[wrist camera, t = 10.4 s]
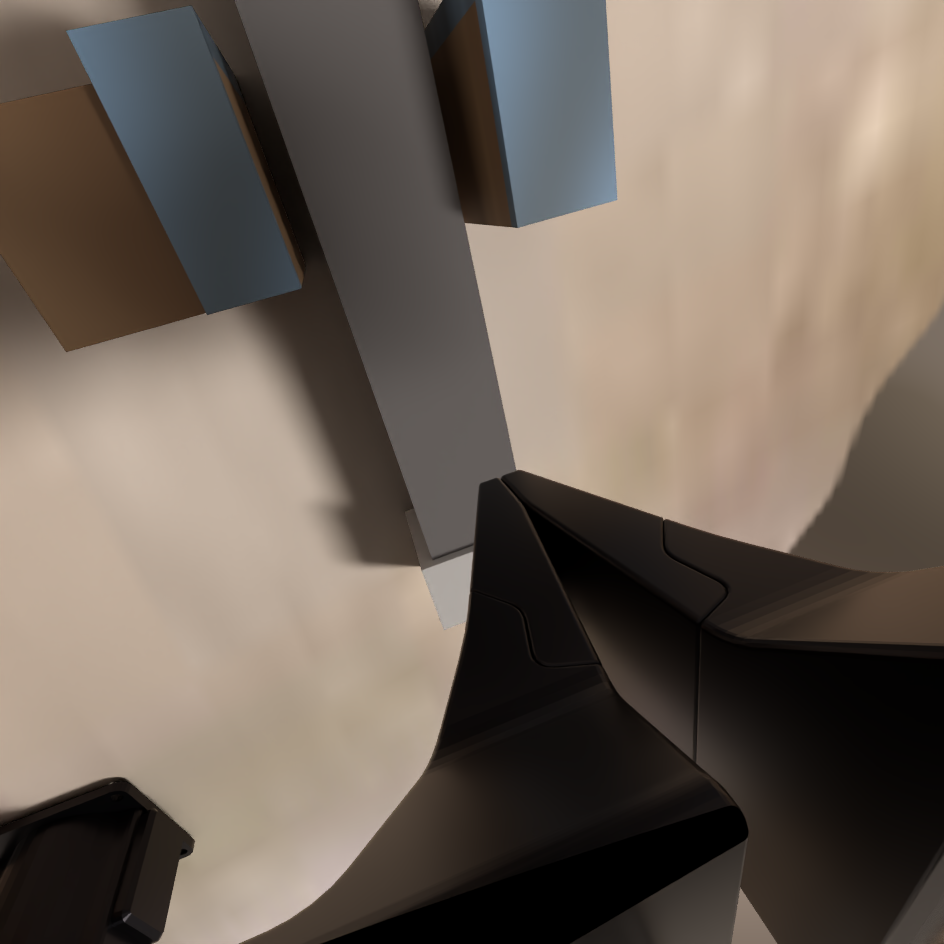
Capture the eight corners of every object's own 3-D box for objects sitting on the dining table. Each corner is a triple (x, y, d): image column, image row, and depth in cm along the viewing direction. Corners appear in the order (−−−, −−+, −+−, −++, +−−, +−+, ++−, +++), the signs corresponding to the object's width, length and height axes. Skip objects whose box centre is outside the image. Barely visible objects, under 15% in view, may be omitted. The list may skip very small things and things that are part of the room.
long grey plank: (519, 531, 22) (554, 587, 18) (424, 565, 21) (443, 630, 18) (373, -128, 11) (394, -261, 8) (182, -94, 11) (125, -221, 8)
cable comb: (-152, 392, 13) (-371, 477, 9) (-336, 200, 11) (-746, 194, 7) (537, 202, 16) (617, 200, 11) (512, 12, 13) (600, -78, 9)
